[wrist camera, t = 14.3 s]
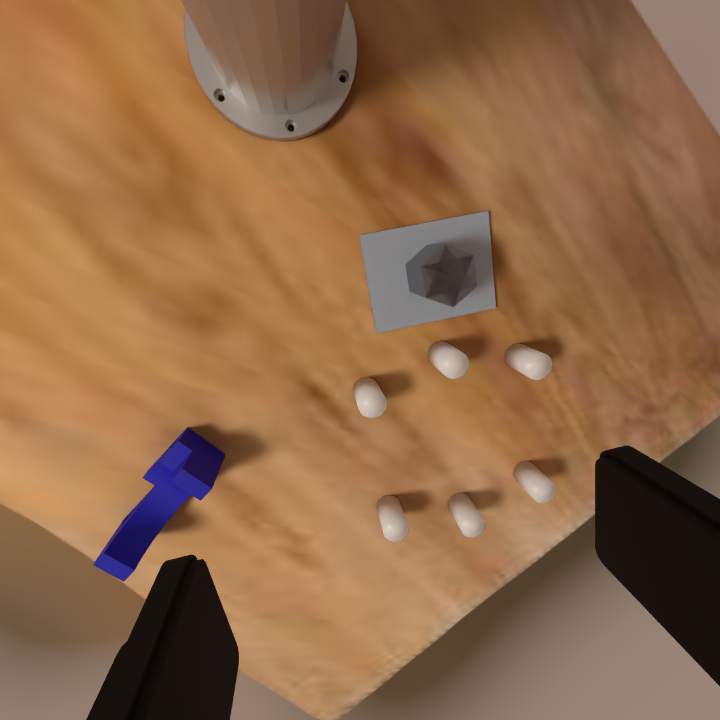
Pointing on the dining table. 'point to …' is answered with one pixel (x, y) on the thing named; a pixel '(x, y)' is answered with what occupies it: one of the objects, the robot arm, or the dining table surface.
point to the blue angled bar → (162, 500)
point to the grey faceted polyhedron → (442, 274)
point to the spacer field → (459, 504)
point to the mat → (400, 245)
